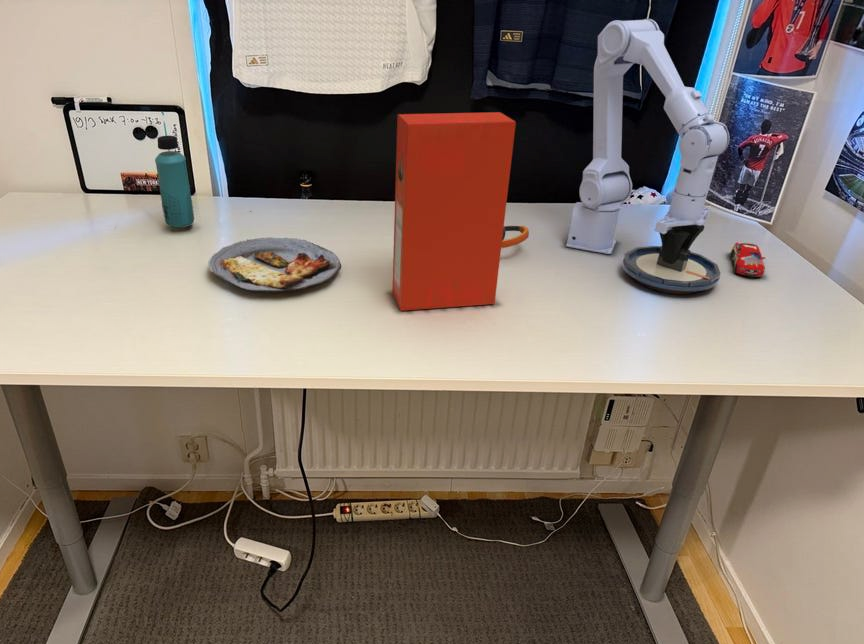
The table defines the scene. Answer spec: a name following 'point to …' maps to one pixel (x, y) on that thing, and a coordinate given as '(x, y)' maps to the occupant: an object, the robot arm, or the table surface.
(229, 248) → the food plate
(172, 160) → the beverage bottle
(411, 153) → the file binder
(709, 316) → the table surface
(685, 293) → the turntable base
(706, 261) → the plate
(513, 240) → the headphones
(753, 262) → the race car
